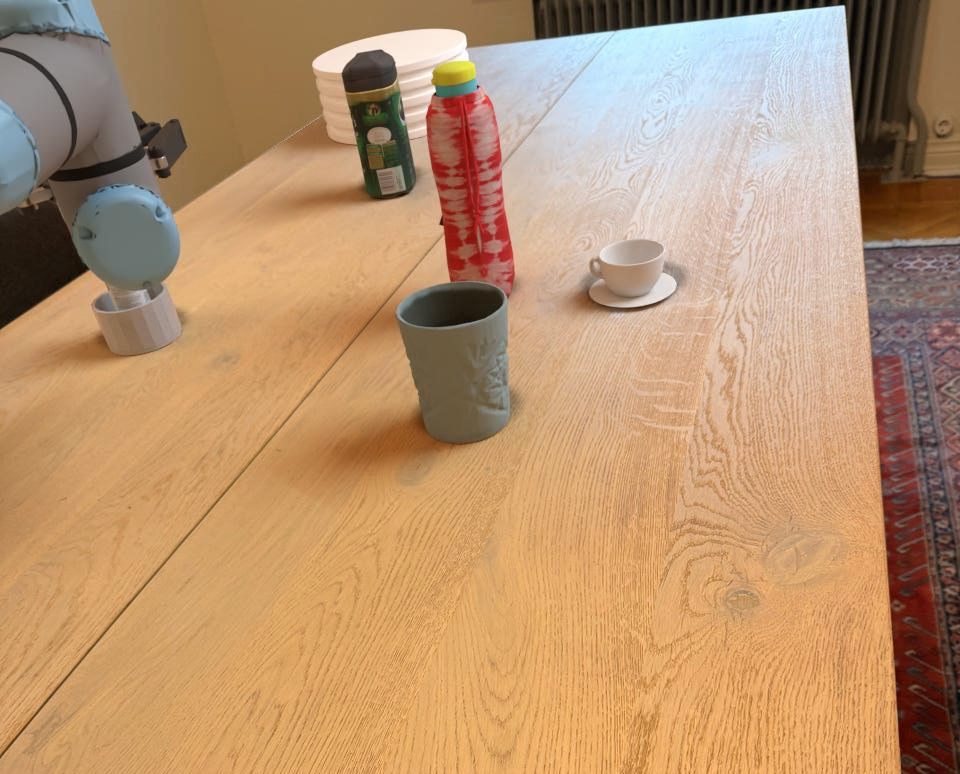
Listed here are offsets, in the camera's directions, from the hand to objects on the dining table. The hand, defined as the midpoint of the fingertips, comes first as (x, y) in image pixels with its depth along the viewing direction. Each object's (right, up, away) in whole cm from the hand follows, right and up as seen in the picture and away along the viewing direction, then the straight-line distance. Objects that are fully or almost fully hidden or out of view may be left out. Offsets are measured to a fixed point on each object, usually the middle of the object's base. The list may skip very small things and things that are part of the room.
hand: (70, 143), depth 95 cm
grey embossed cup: (+41, -29, -2) cm, 50 cm away
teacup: (+59, -10, +14) cm, 62 cm away
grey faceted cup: (-1, -12, +24) cm, 27 cm away
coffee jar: (+28, +20, +52) cm, 63 cm away
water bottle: (+42, -9, +19) cm, 47 cm away
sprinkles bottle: (-1, -12, +23) cm, 26 cm away
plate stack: (+27, +47, +81) cm, 97 cm away
